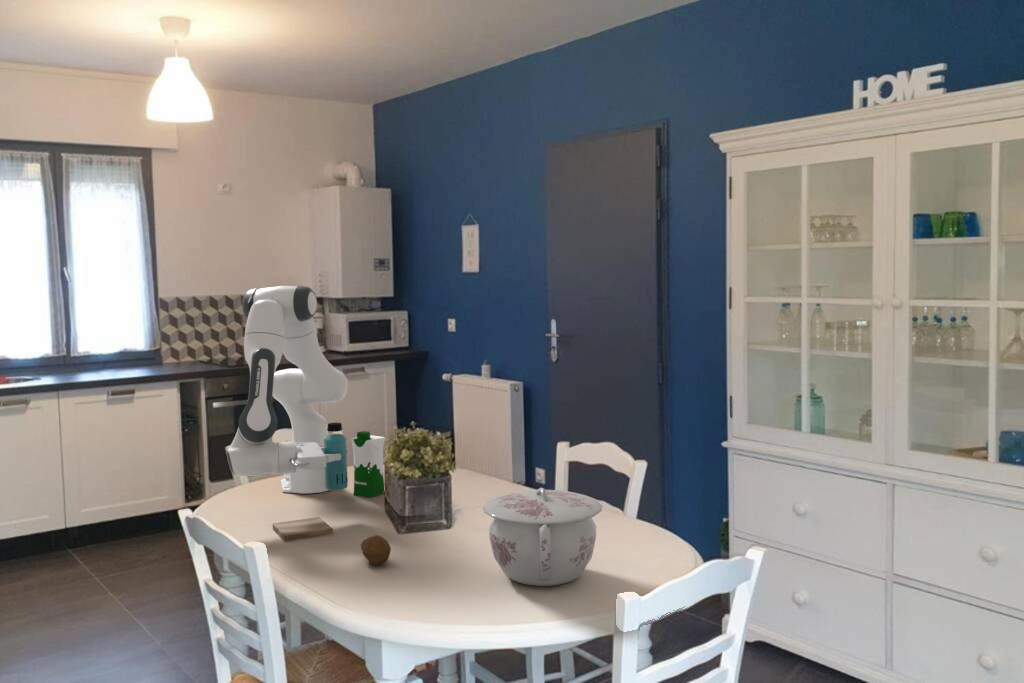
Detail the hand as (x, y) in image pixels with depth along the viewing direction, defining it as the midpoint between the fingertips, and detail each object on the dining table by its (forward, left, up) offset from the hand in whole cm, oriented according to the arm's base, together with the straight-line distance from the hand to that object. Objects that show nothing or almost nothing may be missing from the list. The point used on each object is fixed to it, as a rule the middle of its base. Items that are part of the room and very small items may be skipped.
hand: (338, 453), depth 255 cm
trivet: (+7, -13, -19) cm, 24 cm away
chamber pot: (+70, +26, -19) cm, 77 cm away
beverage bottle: (0, -1, -11) cm, 11 cm away
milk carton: (-22, +16, -19) cm, 33 cm away
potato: (+42, -4, -19) cm, 46 cm away
